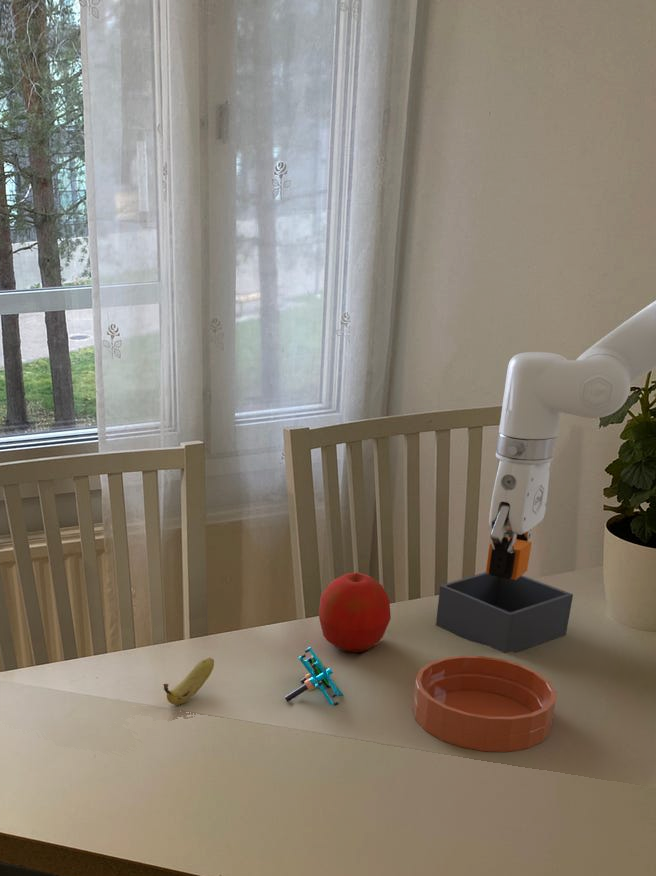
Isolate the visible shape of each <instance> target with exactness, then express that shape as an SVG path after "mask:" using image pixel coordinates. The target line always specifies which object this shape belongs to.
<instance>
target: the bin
mask: <svg viewBox="0 0 656 876" xmlns="http://www.w3.org/2000/svg"><path fill="white" fill-rule="evenodd" d="M573 598H574V594H573V593H571V592H568V591H566V590H564V589H560V588H557V587H554V586H552V585H549V584H547V583H544V582H541V581H539V580H537V579H533V578H531V577H528V576H525V575H524V574H523V575H521V576H520V577H519V578H518V579H516V580H514V579H505V578H501V577H496V576H492V575H490V574H487V573H486V571H485V572H481V573H478V574H474V575H471V576H468V577H467V576H466V577H464V578H461V579H457V580H453V581H450V582H447V583H442V584H440V586H439V592H438V601H437V610H436V611H437V612H436V619H435V620H436V621H435V625H436V626H438V627H440V628H442V629H444V630H446V631H449V632H450V633H453V634H455V635H457V636H459V637H462V638H464V639H466V640H467V641H469V642H473V643H477V644H479V645H480V644H481V645H483V646H484V645H485V646H488V647H490V648H492V649H495V650H496V651H499V652H501V653H502V654H506V653H519V652H521V651H525V650H528V649H530V648H533V647H536V646H538V645H542V644H544V643H547V642H549V641H553V640H555V639H559V638H561V637H564V636H566V635H567V632H568V627H569V622H570V621H569V620H570V615H571V609H572V605H573V604H572V603H573Z"/></svg>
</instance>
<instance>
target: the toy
mask: <svg viewBox="0 0 656 876" xmlns="http://www.w3.org/2000/svg"><path fill="white" fill-rule="evenodd" d="M506 537H507V538H508V541H509V539H510V538H509V536H506ZM492 543H493V541H492V542H490V543H489V545H488V546H489V547H488V554H487V560H486V569H485V572H486V573H487V574H489V567H490V560H491V553H492ZM531 549H532V541H530V540H529V541H524V540H519V539H516V541H515V545H514V550H513V552H516V553H515V560H514V566H513V573H512V577H511V578H510V579H514V580H516V579H518V578H519V577H520V576H521V575H523V576H524V574H525V573H526V572H528V568H529V562H530V555H531Z"/></svg>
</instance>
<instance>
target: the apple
mask: <svg viewBox="0 0 656 876" xmlns="http://www.w3.org/2000/svg"><path fill="white" fill-rule="evenodd" d="M318 619H319V623H320V627H321V631H322V636H323V637H324V639H326V641H327V642H329V643H330V644H332V645H333V646H334V647H336V648H338V649H340V650H343V651H345V652H351V653H363V652H366V651H368V650H370V649H371V648H373V647H374V646H376V645H377V644H378V643H379V642H380V641H381V640H382V639H383V637H384V635H385V633H386V630H387V628H388V626H389V624H390V621H391V602H390V598H389V595H388V593H387V592H386V590H385V588H384V586H383V585H382V584H381V583H380V582H379V581H377V579H375V578H374V577H372V576H370V575H368V574H365V573H360V572H348V573H345V574H343V575H340V576H339V577H337V578H335V579H333V580H332V581H331V582H329V584H328V585H327V587H326V588H325V590H323V592H322V593H321V594H320V600H319V609H318Z"/></svg>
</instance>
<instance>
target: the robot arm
mask: <svg viewBox="0 0 656 876" xmlns="http://www.w3.org/2000/svg"><path fill="white" fill-rule="evenodd" d="M654 369H656V299H655V300H654V301H653V302H651V303H650V304H648V305H646V306H645V307H643V308H642V309H641V310H640V311H638V312H636V313H635V314H634V315H632V316H631V317H630V318H628V319H627V320H625V321H624V322H622V323H621V324H620V325H619V326H617V327H615V328H614V329H613V330H612V331H610V332H609V333H607V334H606V335H605V336H603V337H602V338H601V339H600V340H598V341H597V342H595V343H594V344H593V345H592V346H590V347H588V349H586V350H585V351H583V353H581V355H579V356H578V357H577V358H576V359H567V358H566V357H564V356H563V355H562V354H558V353H554V352H547V351H546V352H545V351H528V352H526V351H525V352H521V353H517V354H515V355H513V356H512V357H511V359H510V360H509V362H508V365H507V369H506V377H505V382H504V383H505V385H504V391H503V398H502V399H503V400H502V405H501V407H502V408H501V415H500V420H499V421H500V422H499V428H498V435H497V441H496V442H497V443H496V449H495V450H496V451H495V457H496V458H497V459H498V460H499V462H498V467H497V471H496V472H497V473H496V476H495V481H494V486H493V491H492V495H491V496H492V497H491V503H490V509H489V510H490V511H489V518H488V525H489V528H490V529H491V533H490V539H491V541H492V542H493V543H492V542H491V543H492V553H491V560H490V567H489V574H490V575H492V576H496V577H501V578H505V579H510V578H511V577H512V573H513V566H514V560H515V553H516V552H513V550H514V545H515V541H516V539H519V540H524V541H529V542H530V539H531V535H532V529H533V528H534V527H536V526H537V525H538V524H539V523H541V522H542V521H543V520H544V517H545V516H546V509H547V500H548V494H549V493H548V492H549V483H550V473H551V472H550V471H551V462H553V461H554V457H555V451H556V445H557V439H558V432H559V427H560V421H561V415H562V413H563V414H567V415H572V416H578V417H582V418H589V419H598V418H599V419H600V418H605V417H608V416H610V415H613V414H615V413H616V412H617V411H619V410H620V409H621V408H622V407H623V406H624V404H625V403H626V402H627V400H628V398H629V396H630V391H631V386H632V385H633V384H634V383H636V382H637V381H639V380H640V379H641V378H643V377H644V376H646V375H648V373H650V372H652V371H653V370H654ZM507 526H508V527H509V529H508V528H507ZM505 535H508V536H505ZM507 537H509V538H510V539H509V541H508V538H507Z"/></svg>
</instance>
